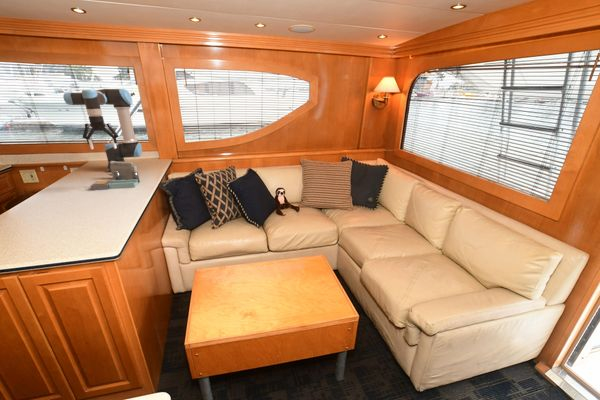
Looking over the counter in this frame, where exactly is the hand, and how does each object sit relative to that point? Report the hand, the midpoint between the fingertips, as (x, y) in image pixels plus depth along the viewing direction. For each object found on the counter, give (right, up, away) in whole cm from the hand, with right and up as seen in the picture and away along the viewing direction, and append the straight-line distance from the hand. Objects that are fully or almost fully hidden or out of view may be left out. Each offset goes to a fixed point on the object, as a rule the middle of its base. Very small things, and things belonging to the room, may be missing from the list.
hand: (104, 148), depth 182 cm
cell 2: (+9, -21, +22) cm, 32 cm away
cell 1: (-5, -21, +22) cm, 31 cm away
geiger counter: (-7, -18, +29) cm, 35 cm away
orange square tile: (-8, -23, +10) cm, 26 cm away
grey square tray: (-8, -26, +11) cm, 29 cm away
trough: (+5, -25, +14) cm, 28 cm away
